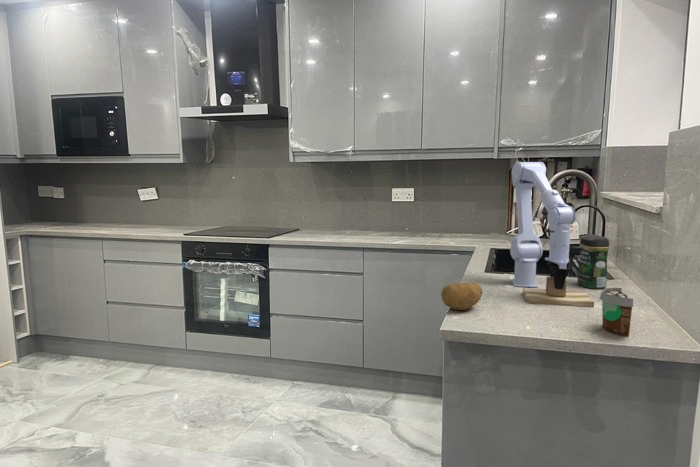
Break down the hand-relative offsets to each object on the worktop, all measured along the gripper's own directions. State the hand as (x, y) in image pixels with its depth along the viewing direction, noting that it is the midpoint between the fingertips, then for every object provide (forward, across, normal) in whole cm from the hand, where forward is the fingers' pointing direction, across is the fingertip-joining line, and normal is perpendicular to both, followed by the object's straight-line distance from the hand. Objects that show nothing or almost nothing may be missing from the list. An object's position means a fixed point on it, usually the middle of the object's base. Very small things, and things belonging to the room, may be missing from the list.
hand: (557, 286), depth 153 cm
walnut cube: (+2, 0, 0) cm, 2 cm away
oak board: (+4, 0, 0) cm, 4 cm away
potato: (+4, +18, -30) cm, 35 cm away
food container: (+4, +28, +8) cm, 29 cm away
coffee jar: (+4, -22, +16) cm, 27 cm away
